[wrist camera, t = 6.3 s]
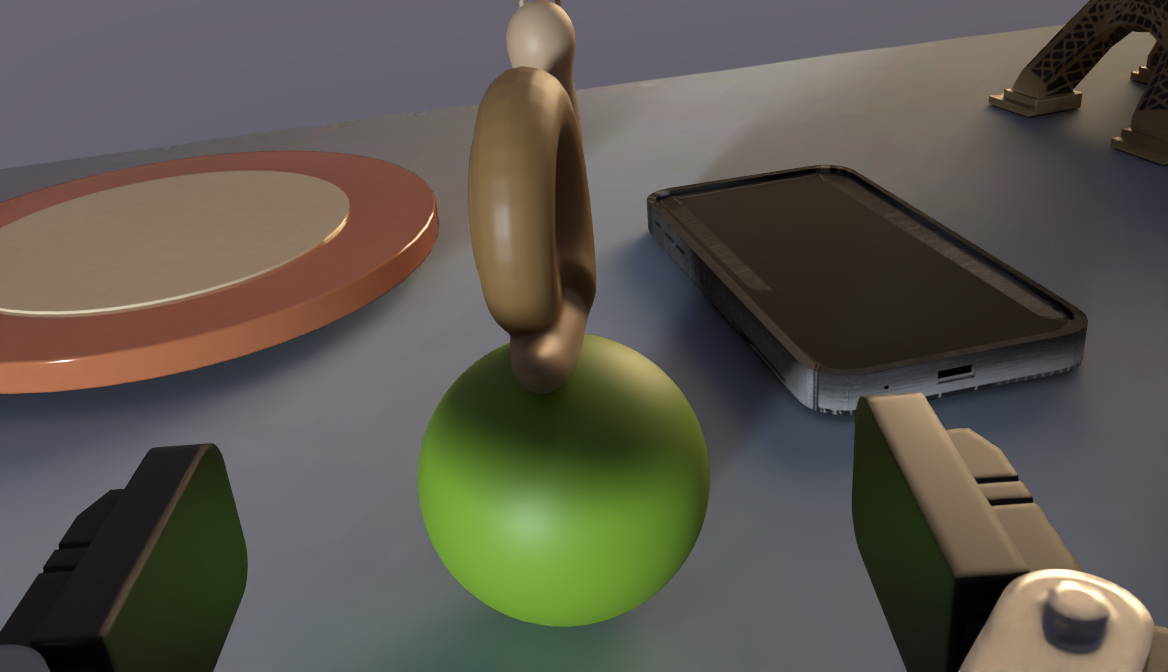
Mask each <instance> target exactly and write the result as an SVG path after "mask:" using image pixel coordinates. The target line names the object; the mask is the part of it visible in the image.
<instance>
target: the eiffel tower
mask: <svg viewBox="0 0 1168 672" xmlns="http://www.w3.org/2000/svg"><path fill="white" fill-rule="evenodd" d="M1132 31H1136V32H1150V33H1151V34H1152V35H1153V36H1154V37H1155V39H1156V40H1157V42H1156V43H1155V45H1154V47H1153V48H1152V50H1151V52H1150V54H1149V55H1148V59H1147V66H1141V67H1139V71H1134V72H1131V78H1130V79H1133V80H1136V81H1140V82H1144V83H1147V84H1148V85H1147V87H1146V89H1145V91H1144V93H1143V95H1142V97H1141V99H1140V102H1139V104H1138V106H1137V108H1136V110H1135V112H1134V114H1133V116H1132V122H1131V127H1127V128H1122V133H1121V137H1116V138H1112V140H1111V147H1114V148H1117V149H1120V150H1122V151H1125V152H1128V153H1131V154H1134V155H1137V156H1139V157H1142V158H1145V159H1148V160H1151V161H1153V162H1156V163H1159V164H1162V165H1165V164H1168V0H1090V1H1089V2H1088V3H1087V4H1086V5H1085V6H1084V7H1083V8H1082V9H1081V10H1080V11H1079V12H1078V13H1077V14H1076V15H1075V16H1074V17H1073V18H1072V19H1071V20H1070V21H1069V22H1068V23H1067V24H1066V25H1065V26H1064V27H1063V28H1062V29H1061V30H1060V31H1059V32H1058V33H1057V34H1056V35H1055V37H1054V38H1053V39H1052V40H1051V41H1050V42H1049V43H1048V44H1047V45H1046V46H1045V47H1044V48H1043V49H1042V50H1041V51H1040V52H1039V53H1038V54H1037V55H1036V56H1035V58H1034V59H1033V60H1032V61H1031V62H1030V63H1029V64H1028V65H1027V66H1026V67H1025V68H1024V69H1023V70H1022V72H1021V73H1020V75H1019V77H1018V79H1017V80H1016V82H1015V84H1014V86H1013V87H1012V88H1010V89H1004V94H998V95H992V96H989V103H990V104H993V105H995V106H998V107H1001V108H1004V109H1007V110H1010V111H1012V112H1015V113H1018V114H1021V115H1024V116H1026V117H1029V116H1035V115H1041V114H1047V113H1052V112H1058V111H1064V110H1069V109H1075V108H1080V107H1081V99H1082V93H1081V92H1078V91H1075V90H1073V89H1074V88H1075V87H1076V86H1077V85H1078V84H1079V82H1080V81H1081V80H1082V79H1083V78H1084V77H1085V76H1086V75H1087V74H1088V72H1089V71H1090V70H1091V69H1092V68H1093V67H1094V66H1095V65H1096V64H1097V63H1098V61H1099V60H1100V59H1101V58H1102V57H1103V56H1104V55H1105V54H1106V53H1107V51H1108V50H1109V49H1110V48H1111V47H1112V46H1114V45H1115V44H1116V43H1118V42H1119V41H1120V40H1121V39H1123V38H1124V37H1125V36H1127V35H1128V34H1129V33H1131V32H1132Z"/></svg>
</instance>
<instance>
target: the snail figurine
mask: <svg viewBox="0 0 1168 672" xmlns="http://www.w3.org/2000/svg"><path fill="white" fill-rule="evenodd" d="M506 44H507V50H508V54H509V58H510V61H511V64H512V68H513V69H510V70H507V71H505V72H504V73H502V74H501V75H500V76H499V77H497V79H495V80H494V81H493V82H492V83H491V84H490V86H489V87H488V89H487V91H486V92H485V94H484V96H483V99H482V102H481V104H480V107H479V110H478V114H477V119H476V125H475V133H474V138H473V142H472V146H471V153H470V161H469V178H468V201H469V221H470V232H471V240H472V247H473V253H474V258H475V263H476V267H477V271H478V274H479V277H480V281H481V286H482V290H483V294H484V298H485V301H486V304H487V306H488V309H489V311H490V313H491V315H492V316H493V318H494V319H495V321H496V322H497V323H498V324H499V325H500V326H501V327H502V328H503V329H504V330H505V331H507V332H508V333H509V335H510V343H508V344H506V345H504V346H501V347H499V348H497V349H496V350H494V351H492V352H490V353H489V354H487V355H485V356H484V357H482V358H481V359H480V360H478V361H477V362H475V363H474V364H473V365H472V366H471V367H469V368H468V369H467V370H466V371H465V372H464V373H463V374H462V375H461V376H460V377H459V378H458V379H457V380H456V381H455V382H454V383H453V385H452V386H451V387H450V388H449V390H448V391H447V392H446V394H445V395H444V396H443V398H442V399H441V401H440V403H439V404H438V406H437V408H436V410H435V412H434V414H433V416H432V418H431V420H430V422H429V425H428V427H427V430H426V433H425V436H424V439H423V443H422V448H421V452H420V458H419V467H418V493H419V501H420V507H421V512H422V516H423V520H424V523H425V526H426V529H427V532H428V535H429V537H430V539H431V542H432V544H433V546H434V548H435V550H436V552H437V553H438V555H439V557H440V558H441V560H442V561H443V563H444V564H445V566H446V567H447V568H448V570H449V571H450V572H451V574H452V575H453V576H454V577H455V578H456V579H457V580H458V581H459V582H460V583H461V585H462V586H463V587H465V588H466V589H467V590H468V591H469V592H470V593H471V594H473V595H474V596H475V597H477V598H478V599H479V600H481V601H482V602H484V603H485V604H487V605H488V606H490V607H492V608H493V609H495V610H497V611H499V612H501V613H503V614H506V615H508V616H510V617H513V618H516V619H519V620H522V621H525V622H529V623H534V624H539V625H546V626H558V627H569V626H581V625H588V624H593V623H598V622H602V621H605V620H608V619H611V618H614V617H617V616H619V615H622V614H624V613H626V612H628V611H630V610H632V609H634V608H635V607H637V606H639V605H641V604H642V603H644V602H645V601H647V600H648V599H649V598H651V597H652V596H653V595H655V594H656V593H657V592H658V591H659V590H661V589H662V588H663V587H664V586H665V585H666V584H667V583H668V582H669V581H670V580H671V579H672V578H673V576H674V575H675V574H676V573H677V572H678V570H679V569H680V568H681V566H682V565H683V564H684V562H685V561H686V559H687V557H688V556H689V554H690V552H691V551H692V549H693V547H694V545H695V543H696V541H697V538H698V536H699V534H700V531H701V528H702V525H703V522H704V519H705V515H706V511H707V506H708V499H709V489H710V469H709V459H708V453H707V448H706V443H705V439H704V436H703V433H702V430H701V427H700V425H699V422H698V420H697V418H696V415H695V413H694V411H693V409H692V408H691V406H690V404H689V402H688V401H687V399H686V398H685V396H684V395H683V393H682V392H681V391H680V389H679V388H678V387H677V385H676V384H675V383H674V382H673V381H672V380H671V379H670V378H669V377H668V375H667V374H666V373H665V372H663V371H662V370H661V369H660V368H659V367H658V366H657V365H655V364H654V363H653V362H652V361H650V360H649V359H647V358H646V357H645V356H643V355H641V354H640V353H638V352H636V351H635V350H633V349H631V348H629V347H627V346H625V345H623V344H620V343H618V342H615V341H612V340H610V339H607V338H603V337H599V336H595V335H590V334H585V327H586V322H587V318H588V315H589V312H590V309H591V307H592V304H593V301H594V298H595V293H596V266H595V249H594V236H593V225H592V215H591V206H590V197H589V189H588V181H587V174H586V167H585V160H584V154H583V148H582V135H581V125H580V117H579V111H578V104H577V98H576V93H575V87H574V79H573V63H574V55H575V46H576V38H575V31H574V28H573V25H572V22H571V20H570V18H569V17H568V15H567V14H566V13H565V11H564V10H563V9H561V3H560V0H555V4H554V3H552V2H550V1H546V0H534V1H530V2H528V3H526V4H525V1H524V0H520V8H519V9H518V10H517V11H516V12H515V14H514V15H513V17H512V18H511V20H510V23H509V25H508V29H507V35H506Z"/></svg>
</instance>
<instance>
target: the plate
mask: <svg viewBox="0 0 1168 672" xmlns="http://www.w3.org/2000/svg"><path fill="white" fill-rule="evenodd" d="M438 228H439V220H438V213H437V206H436V201H435V198H434V194H433V191H432V190H431V188H430V187H429V186H428V185H427V183H426V182H425V181H424V180H423V179H421V178H420V177H419V176H417V175H416V174H415V173H413V172H411V171H409V170H407V169H405V168H403V167H400V166H398V165H395V164H392V163H389V162H385V161H382V160H378V159H373V158H368V157H363V156H357V155H350V154H342V153H332V152H317V151H259V152H243V153H229V154H219V155H209V156H200V157H193V158H185V159H177V160H171V161H165V162H158V163H152V164H146V165H141V166H136V167H131V168H126V169H121V170H116V171H111V172H106V173H102V174H98V175H93V176H89V177H85V178H80V179H77V180H73V181H69V182H65V183H62V184H58V185H54V186H50V187H47V188H44V189H40V190H37V191H34V192H31V193H27V194H24V195H21V196H18V197H15V198H12V199H9V200H6V201H3V202H0V394H21V393H42V392H59V391H68V390H78V389H87V388H96V387H104V386H110V385H116V384H123V383H129V382H135V381H141V380H147V379H152V378H157V377H161V376H166V375H171V374H175V373H180V372H184V371H189V370H194V369H198V368H201V367H205V366H209V365H212V364H216V363H220V362H223V361H227V360H231V359H235V358H238V357H242V356H245V355H248V354H251V353H254V352H257V351H260V350H263V349H266V348H269V347H272V346H275V345H278V344H281V343H284V342H286V341H289V340H291V339H294V338H296V337H299V336H302V335H304V334H307V333H309V332H312V331H314V330H317V329H319V328H322V327H324V326H326V325H328V324H330V323H332V322H334V321H336V320H338V319H340V318H343V317H345V316H347V315H349V314H351V313H353V312H355V311H357V310H358V309H360V308H362V307H364V306H365V305H367V304H369V303H371V302H372V301H374V300H376V299H378V298H379V297H381V296H383V295H384V294H385V293H387V292H388V291H390V290H391V289H392V288H394V287H395V286H397V285H398V284H400V283H401V282H402V281H404V280H405V279H406V278H407V277H408V276H409V275H410V274H411V273H412V272H414V271H415V270H416V269H417V268H418V267H419V266H420V265H421V264H422V262H423V261H424V260H425V258H426V257H427V256H428V255H429V253H430V252H431V250H432V248H433V246H434V244H435V241H436V239H437V237H438Z"/></svg>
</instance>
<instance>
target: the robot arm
mask: <svg viewBox="0 0 1168 672" xmlns="http://www.w3.org/2000/svg"><path fill="white" fill-rule="evenodd" d="M852 515H853V524H854V531H855V536H856V541H857V545H858V548H859V551H860V554H861V556H862V559H863V561H864V564H865V567H866V569H867V572H868V574H869V577H870V579H871V582H872V584H873V587H874V589H875V592H876V594H877V597H878V599H879V602H880V605H881V607H882V610H883V612H884V615H885V617H886V620H887V622H888V625H889V627H890V630H891V632H892V635H893V637H894V640H895V643H896V645H897V648H898V650H899V653H900V655H901V658H902V660H903V663H904V665H905V668H906V670H907V672H1168V628H1164V627H1161V626H1157V625H1154V622H1153V620H1152V617H1151V615H1150V614H1149V612H1148V610H1147V609H1146V607H1145V606H1144V605H1143V604H1142V603H1141V602H1140V601H1139V600H1138V599H1137V598H1136V597H1134V596H1133V595H1132V594H1131V593H1129V592H1128V591H1126V590H1125V589H1123V588H1122V587H1120V586H1118V585H1116V584H1114V583H1112V582H1110V581H1108V580H1106V579H1103V578H1100V577H1097V576H1095V575H1091V574H1087V573H1083V572H1082V570H1081V569H1080V567H1079V566H1078V564H1077V563H1076V561H1075V560H1074V558H1073V557H1072V555H1071V554H1070V552H1069V551H1068V549H1067V548H1066V546H1065V545H1064V543H1063V542H1062V540H1061V539H1060V537H1059V536H1058V534H1057V533H1056V531H1055V530H1054V528H1053V527H1052V525H1051V524H1050V522H1049V521H1048V519H1047V518H1046V516H1045V515H1044V513H1043V512H1042V510H1041V509H1040V507H1039V506H1038V504H1037V503H1033V497H1032V496H1031V494H1030V493H1029V491H1028V490H1027V488H1026V487H1025V485H1024V484H1023V482H1022V481H1019V479H1018V475H1017V473H1016V472H1015V470H1014V469H1013V467H1012V466H1011V464H1010V463H1009V461H1008V460H1007V458H1006V457H1005V455H1004V454H1003V452H1002V451H1001V449H999V448H998V447H996V446H995V445H993V444H992V443H990V442H989V441H987V440H986V439H984V438H983V437H981V436H980V435H978V434H977V433H975V432H974V431H972V430H971V429H969V428H961V429H948V430H945V429H944V427H943V426H942V424H941V422H940V421H939V419H938V417H937V416H936V414H935V413H934V411H933V409H932V408H931V406H930V404H929V403H928V401H927V399H926V398H925V396H924V395H923V394H922V393H921V392H912V393H898V394H885V395H872V396H861V397H860V398H859V399H858V402H857V406H856V415H855V438H854V462H853V486H852ZM247 569H248V562H247V550H246V544H245V539H244V536H243V532H242V528H241V524H240V520H239V517H238V513H237V509H236V505H235V501H234V498H233V494H232V490H231V486H230V482H229V479H228V475H227V471H226V467H225V463H224V460H223V457H222V454H221V452H220V450H219V449H218V447H217V446H216V445H214V444H212V443H208V444H195V445H182V446H168V447H155V448H152V449H150V450H149V451H148V453H147V454H146V455H145V457H144V459H143V460H142V462H141V463H140V465H139V467H138V468H137V470H136V471H135V473H134V475H133V476H132V478H131V479H130V481H129V483H128V484H127V486H126V487H125V489H116V490H110V491H109V492H107V493H106V494H105V495H103V496H102V497H101V498H100V499H98V500H97V501H96V502H95V503H93V504H92V505H91V506H89V507H88V508H87V509H86V510H84V511H83V512H82V513H81V514H79V515H78V516H77V517H76V519H75V520H74V522H73V523H72V525H71V526H70V528H69V529H68V531H67V532H66V534H65V535H64V537H63V538H62V540H61V541H60V543H59V550H54V552H53V553H52V555H51V556H50V558H49V559H48V561H47V562H46V564H45V565H44V567H43V573H39V574H38V576H37V577H36V579H35V580H34V582H33V583H32V585H31V586H30V588H29V589H28V591H27V592H26V594H25V595H24V597H23V598H22V600H21V601H20V603H19V604H18V606H17V607H16V609H15V610H14V612H13V613H12V615H11V616H10V618H9V619H8V621H7V622H6V624H5V625H4V627H3V628H2V630H1V631H0V672H213V670H214V668H215V665H216V663H217V660H218V658H219V655H220V653H221V650H222V648H223V645H224V643H225V640H226V637H227V635H228V632H229V630H230V627H231V625H232V622H233V620H234V617H235V615H236V612H237V610H238V607H239V604H240V602H241V599H242V597H243V594H244V591H245V587H246V581H247Z"/></svg>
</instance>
